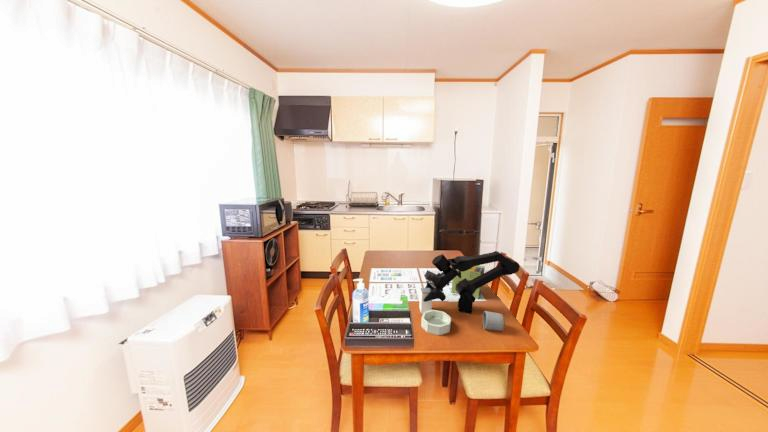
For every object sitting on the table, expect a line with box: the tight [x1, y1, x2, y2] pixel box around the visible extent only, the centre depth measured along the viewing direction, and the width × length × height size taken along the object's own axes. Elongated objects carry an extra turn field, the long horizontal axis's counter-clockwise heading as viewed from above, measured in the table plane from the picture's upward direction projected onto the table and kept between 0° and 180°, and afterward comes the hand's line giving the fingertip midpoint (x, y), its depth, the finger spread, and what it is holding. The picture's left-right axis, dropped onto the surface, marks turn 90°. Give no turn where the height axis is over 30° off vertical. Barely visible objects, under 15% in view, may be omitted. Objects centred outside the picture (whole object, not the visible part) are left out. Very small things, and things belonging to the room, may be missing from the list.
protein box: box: [451, 265, 485, 300], centre depth 151 cm, size 10×15×16 cm
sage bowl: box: [420, 309, 452, 336], centre depth 119 cm, size 13×13×4 cm
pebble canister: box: [418, 287, 433, 314], centre depth 131 cm, size 5×5×11 cm
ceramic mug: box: [482, 310, 506, 332], centre depth 119 cm, size 11×8×8 cm
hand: (422, 298), depth 131 cm, fingers closed on pebble canister, 5 cm apart
